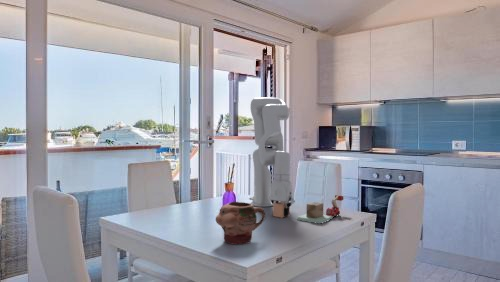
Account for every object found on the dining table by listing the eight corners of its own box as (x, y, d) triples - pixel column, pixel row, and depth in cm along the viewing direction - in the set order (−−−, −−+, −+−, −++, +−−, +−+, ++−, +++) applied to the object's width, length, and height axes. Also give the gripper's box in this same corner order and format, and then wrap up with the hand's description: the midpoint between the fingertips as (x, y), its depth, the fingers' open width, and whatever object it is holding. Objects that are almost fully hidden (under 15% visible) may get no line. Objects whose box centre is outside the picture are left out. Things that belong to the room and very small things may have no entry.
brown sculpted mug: (255, 233, 150) (255, 198, 150) (272, 240, 140) (272, 203, 139) (210, 240, 140) (210, 203, 139) (224, 249, 129) (225, 209, 129)
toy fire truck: (325, 218, 178) (325, 198, 178) (337, 213, 189) (337, 194, 188) (331, 219, 176) (331, 198, 176) (343, 214, 187) (343, 195, 186)
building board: (297, 220, 173) (297, 216, 173) (309, 215, 183) (310, 212, 183) (320, 224, 166) (320, 220, 166) (332, 219, 175) (332, 216, 175)
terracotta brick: (272, 216, 180) (273, 203, 180) (280, 213, 186) (281, 201, 185) (281, 217, 177) (281, 205, 177) (289, 215, 183) (289, 202, 182)
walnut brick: (306, 216, 173) (306, 204, 173) (313, 214, 179) (313, 202, 178) (316, 218, 170) (316, 205, 170) (323, 215, 175) (323, 203, 175)
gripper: (263, 176, 183) (262, 213, 184) (292, 180, 172) (292, 219, 173) (271, 175, 189) (271, 211, 190) (301, 178, 178) (300, 216, 179)
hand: (281, 214), depth 181 cm, fingers closed on terracotta brick, 5 cm apart
